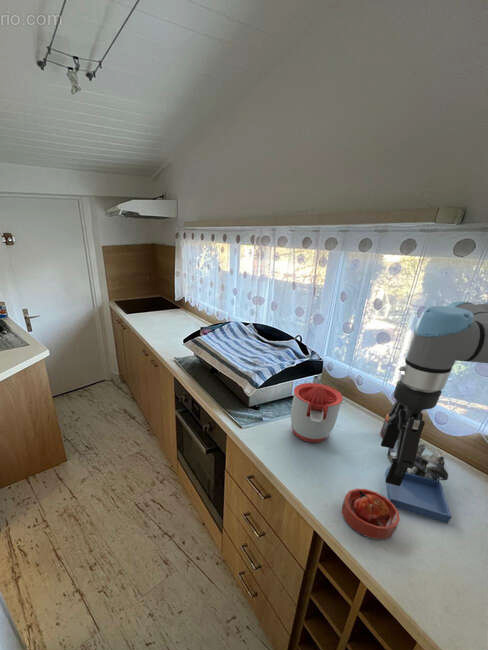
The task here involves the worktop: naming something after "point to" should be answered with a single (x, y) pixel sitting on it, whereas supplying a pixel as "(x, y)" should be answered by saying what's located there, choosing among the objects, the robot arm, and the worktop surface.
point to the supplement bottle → (386, 426)
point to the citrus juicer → (314, 411)
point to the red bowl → (371, 527)
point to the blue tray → (420, 497)
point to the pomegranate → (370, 507)
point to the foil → (424, 464)
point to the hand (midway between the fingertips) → (389, 463)
